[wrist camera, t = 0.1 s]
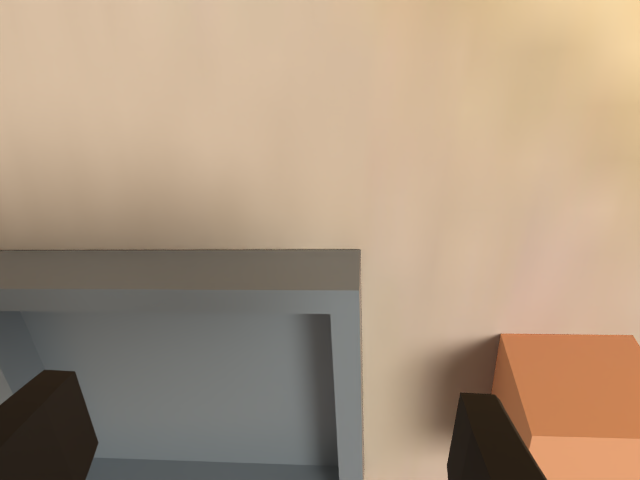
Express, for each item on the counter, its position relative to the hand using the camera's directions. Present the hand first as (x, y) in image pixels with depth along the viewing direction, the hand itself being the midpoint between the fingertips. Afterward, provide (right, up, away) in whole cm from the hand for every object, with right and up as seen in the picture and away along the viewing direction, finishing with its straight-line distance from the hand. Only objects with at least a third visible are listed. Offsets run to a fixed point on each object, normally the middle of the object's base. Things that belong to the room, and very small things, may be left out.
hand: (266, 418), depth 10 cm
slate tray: (-5, -3, +14) cm, 15 cm away
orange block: (+11, -2, +12) cm, 17 cm away
